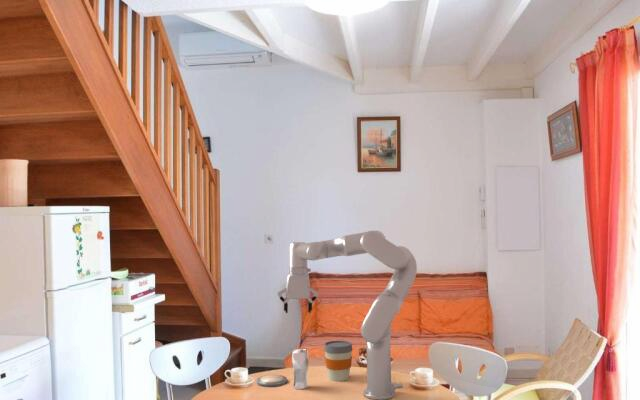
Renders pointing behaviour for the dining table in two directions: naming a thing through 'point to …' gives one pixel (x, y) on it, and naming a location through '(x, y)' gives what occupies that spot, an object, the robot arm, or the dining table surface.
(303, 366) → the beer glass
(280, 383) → the coaster plate
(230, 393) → the dining table surface
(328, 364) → the reusable coffee cup
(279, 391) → the dining table surface
